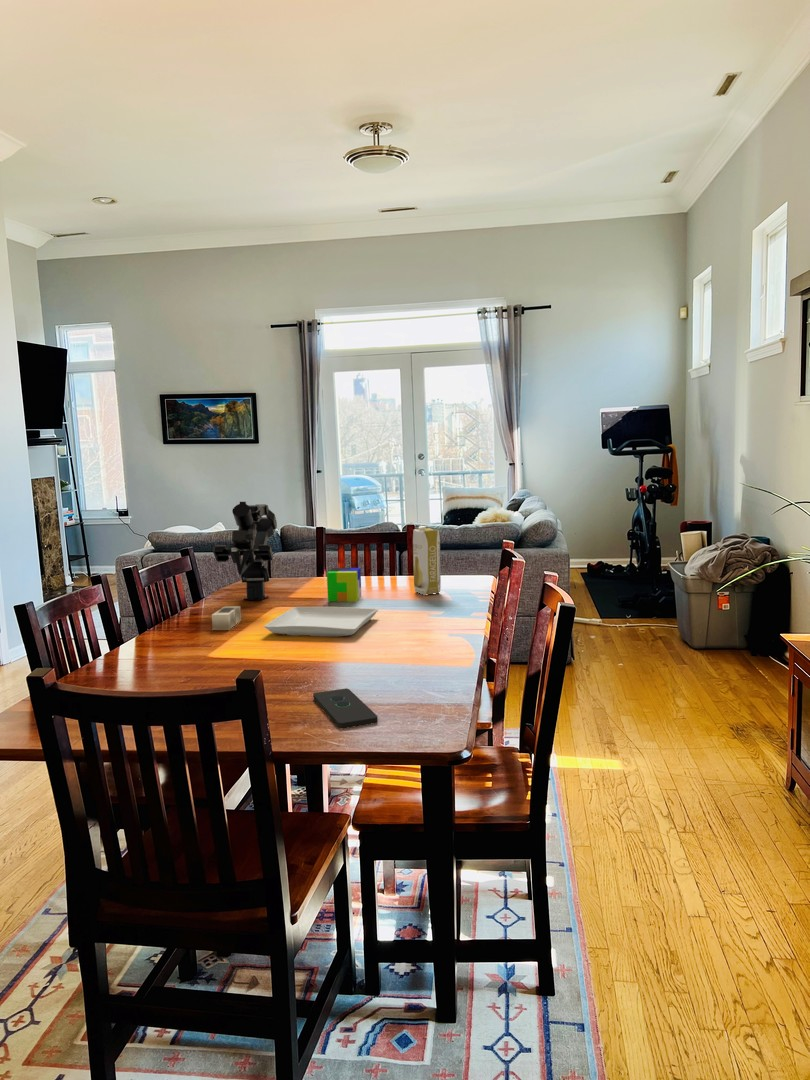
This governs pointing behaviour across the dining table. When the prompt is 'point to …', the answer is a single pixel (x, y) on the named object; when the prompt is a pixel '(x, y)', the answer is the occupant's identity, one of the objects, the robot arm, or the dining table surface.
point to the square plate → (321, 621)
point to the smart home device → (345, 708)
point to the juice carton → (426, 560)
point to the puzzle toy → (344, 584)
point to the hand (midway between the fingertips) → (239, 574)
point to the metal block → (226, 618)
